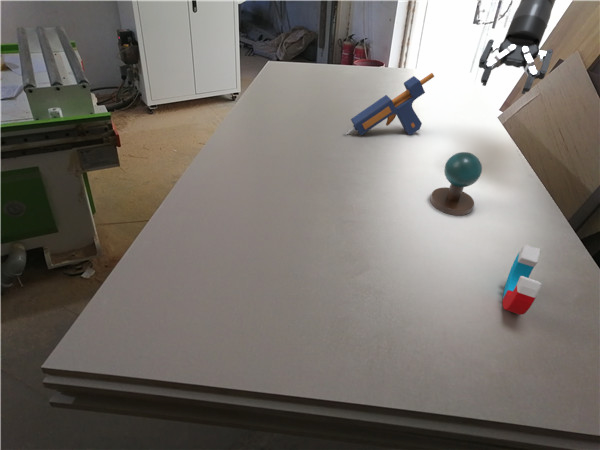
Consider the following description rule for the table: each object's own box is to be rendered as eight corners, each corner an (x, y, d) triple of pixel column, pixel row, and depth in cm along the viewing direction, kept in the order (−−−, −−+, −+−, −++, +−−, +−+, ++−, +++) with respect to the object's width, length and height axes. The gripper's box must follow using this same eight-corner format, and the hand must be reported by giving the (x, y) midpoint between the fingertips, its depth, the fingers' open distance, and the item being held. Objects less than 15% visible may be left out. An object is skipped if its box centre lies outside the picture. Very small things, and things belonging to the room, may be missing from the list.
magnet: (504, 279, 79) (524, 240, 72) (519, 284, 78) (541, 245, 72) (500, 323, 70) (523, 282, 64) (517, 329, 69) (542, 288, 63)
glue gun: (360, 159, 135) (339, 126, 126) (438, 102, 131) (422, 64, 122) (368, 167, 131) (347, 134, 121) (449, 108, 126) (433, 69, 117)
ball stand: (475, 200, 101) (494, 151, 92) (467, 220, 94) (487, 169, 85) (436, 188, 104) (451, 140, 96) (425, 206, 97) (440, 156, 89)
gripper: (498, 9, 92) (472, 72, 91) (567, 18, 87) (541, 86, 86) (494, 30, 99) (470, 89, 98) (558, 40, 94) (533, 103, 93)
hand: (503, 88), depth 92 cm, fingers open, 8 cm apart
